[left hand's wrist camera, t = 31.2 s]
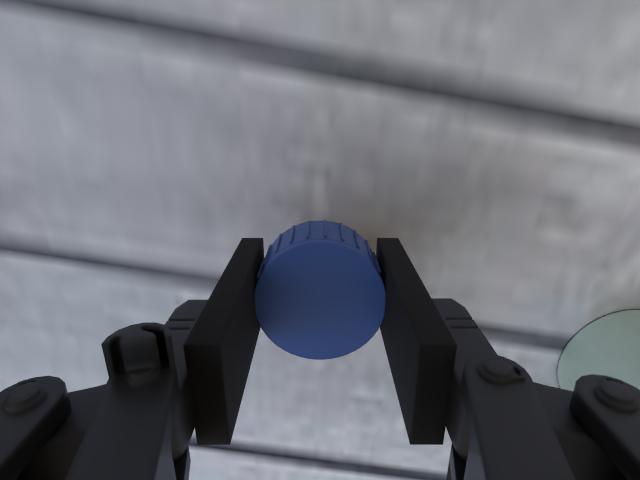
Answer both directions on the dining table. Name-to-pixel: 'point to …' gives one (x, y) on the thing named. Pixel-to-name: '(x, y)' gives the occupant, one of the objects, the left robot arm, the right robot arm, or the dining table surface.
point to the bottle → (604, 350)
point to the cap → (320, 291)
